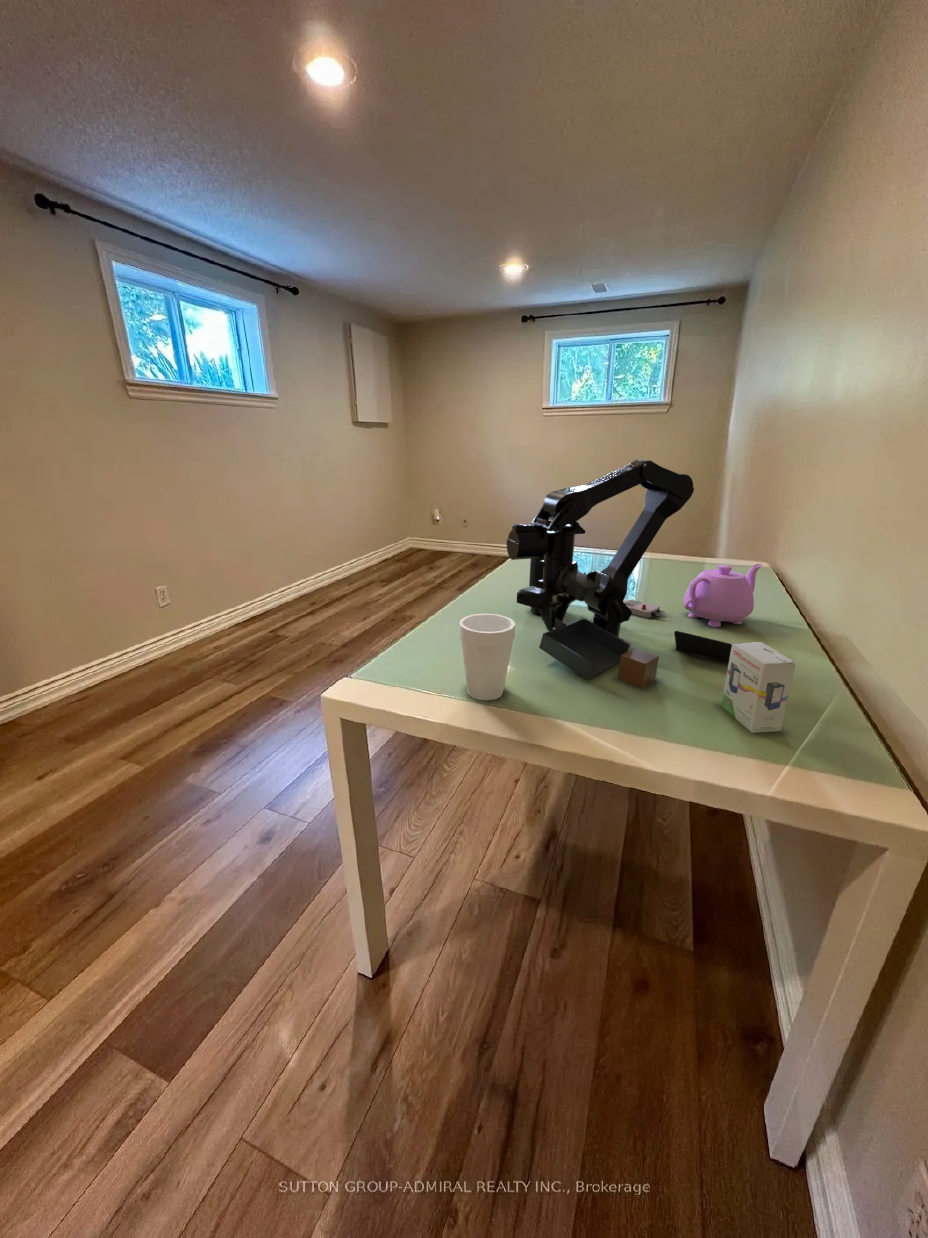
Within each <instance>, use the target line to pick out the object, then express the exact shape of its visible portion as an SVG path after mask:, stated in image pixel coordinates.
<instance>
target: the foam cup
mask: <svg viewBox="0 0 928 1238" xmlns="http://www.w3.org/2000/svg"><path fill="white" fill-rule="evenodd" d="M458 630H459V631H458V634H459V639H460V642H461V650H462V657H463V666H464V674H465V681H466V682H465V683H466V689H467V694H468V696H470V697H471V698H473V699H476V700H479V701H493V700H497V699H499V698H501V697H502V696H503V694H504V689H505V686H506V680H507V674H508V670H509V664H510V659H511V654H512V649H513V643H514V640H515V638H516V622H515V620H514V619H512V618H510V617H508V616H505V615H503V614H502V615H501V614H496V613H475V614H470V615H466V616H464V617H462V618H461V619H460V620H459V624H458Z"/></svg>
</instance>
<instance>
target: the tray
mask: <svg viewBox="0 0 928 1238" xmlns="http://www.w3.org/2000/svg"><path fill="white" fill-rule="evenodd" d="M541 620H542V621H543V618H542V617H541ZM620 638H621V637H619V638H618V637H617V636H615V635H613V634H611V633H610V632H608V631H606V630H604V629H603V628H601V627H599V626H597V625H596V624H594V623H593V621H590V620H589V619H587V618H585V617H581V618H579V619H576V620H574V621H571V622H568V623H566V622H565V621H564V620H563V621H561V620H559V619H558V618H556V617H555V623H554V628H553V630H551V631H548V630H547V631H546V632H544V633H542V637H541V640H540V642H539V646H538V648H539V650H541V651H543V652H545V653H546V654H547V655H549V656H551V657H552V658H554V659H555V660H557V661H558V662H560V663H562V665H565V666H566V667H567V668H569V669H571V670H572V671H573V672H575V673H576V674H578V675H579V676H581V677H582V678H584V679H585V680H587V681H589V680H590V679H592V678H594V677H596V676H597V675H599V674H601V673H603V672H605V671H607V670H608V669H610V668H612V667H614V666H615V665H618V664H620V657H621V655H623V654H624V653H626V652H628V651H630V650H629V649H630V647H631V643H630V642H627V641H626V640H625V639H624V640H625V641H624V640H622V639H623V638H621V639H620Z"/></svg>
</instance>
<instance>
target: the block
mask: <svg viewBox="0 0 928 1238" xmlns="http://www.w3.org/2000/svg"><path fill="white" fill-rule="evenodd" d="M659 659H660V655H657V654H653V653H650V652H647V651H644V650H641V649H638V648H632V649H630V650H628V652H626V653H624V654H623V655H621V657H620V662H619V663H618V664H619V665H618V674H617V680H619V681H622V682H624V683H627V684H630V685H631V686H635V687H637V688H640V689H644V688H645V687H647V686H648V685H650V684H652V683H653V682H654V681H656V678H657V672H658V666H659Z"/></svg>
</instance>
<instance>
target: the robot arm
mask: <svg viewBox="0 0 928 1238" xmlns="http://www.w3.org/2000/svg"><path fill="white" fill-rule="evenodd" d="M637 486H640V487H642V488H643V489H645V490H646V492H645V496H644V506H643V509H642V511H641V512H640V515H639V516H638V518H637V519H636V521H635V522H634V524H633V526H632V527H631V529H630V530H629V531H628V534H627V535H626V536H625V538H624V540H623V542H622V543H621V544H620V546H619V548H618V550H617V551H616V552H615V554H614V556H613V557H612V559H611V561H610V562H609V564H608V565H607V566H606V567H605V568H604V569H602V570H601V571H598V570H596V569H594V570H592V571H590V572H588V573H587V572H586V571H585V572H581V571H580V570H579V564H578V562H577V561H574V552H575V551H574V550H575V539H576V535H584V534H586V532H587V531H586V530H585V529H584V527H582V526H581V525H580V523H579V520H581V519H582V518H584V517H585V516H586V515H588V514H589V513H590V511H592V509H593V508H594V507H595V506H597V505H598V504H600V503H602V502H604V501H607V500H609V499H611V498H613V497H615V496H618V495H620V494H622V493H624V492H626V491H628V490H630V489H632V488H634V487H637ZM694 492H695V487H694V481H693V479H692V477H691V476H690V475H689V474H686V473H685V474H684V473H677V472H675V471H673V470H670V469H668V468H667V467H666V468H665V467H663V466H661V465H659V464H657V463H656V462H654V461H653V460H649V459H648V460H647V459H635V460H633V461H631V462H630V463H629V464H626V465H625V466H622V467H620V468H618V469H616V470H614V471H611V472H609V473H607V474H605V475H603V476H600V477H598V478H596V479H594V480H592V481H589V482H587V483H585V484H582V485H577V486H570V487H565V488H561V489H557V490H553V491H550V492H549V493H547V494H546V496H545V498H544V500H543V504H542V506H541V507H540V509H539V511H538V512H537V514H536V515H535V516H534V518H533V519H532V520H531V522H530V523H525V524H524V523H523V524H522V523H512V526H511V530H510V531H509V533H508V537H507V539H506V551H507V555H508V557H509V559H510V560H512V561H518V560H531V559H534V558H541V557H542V556H543V555H544V560H542V561H539V566H542V567H544V568H543V580H539V581H538V586H542V587H543V588H544V589H541V588H537V587H533V586H530V587H529V586H527V587H523V588H520V589H519V590H518V591H517V592H516V603H517V604H520V605H523V606H526V607H529V608H531V607H533V608H537V609H538V610H539V612H540V613H539V614H540V616H541V619H542V618H543V620H542V621H543V623H544V625H545V628H546V630H547V632H548V631H551V630H553V629H555V628H554V623H555V617H556V618H558V619H559V620H561V621H563V622H564V618H565V616H566V613H567V611H568V609H569V607H570V606H571V604H572V603H574V602H575V601H576V600H577V601H578V602H584V603H585V604H586V606H587V610H588V611H589V612H591V613H593V619H592V620H593V621H592V623H594V624H596V625H597V626H599V627H601V628H603V629H604V630H606V631H608V632H610V633H611V634H613V635H615V636H617V637H618V638H620V639H622V640H624V641H625V642H626V639H625V638H621V637H620V633H621V632H620V631H621V624H623V623H624V622H628V621H630V618H631V616H632V615H633V614H632V611H631V610H630V609H629V608H628V607H627V606H626V604H625V603H624V602H623V601H625V598H626V596H627V595H628V583H629V582H628V581H629V578H630V576H631V575H632V574H633V572H634V571H635V568H636V567H637V565H638V564H639V563H640V561H641V559H642V558H643V556H644V555H645V553H646V552H647V549H648V548H649V546H650V545H651V544H652V542H653V540H654V539H655V537H656V536H657V534H658V533H659V531H660V529H661V528H662V526H663V525H664V523H665V522H666V520H667V519H668V518H670V517H671V516H673V515H675V514H676V513H678V512H679V511H680V510H682V509H683V507H684V506H685V505H686V504H687V503H688V502H689V500H690V499H691V498H692V497H693V494H694Z"/></svg>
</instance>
